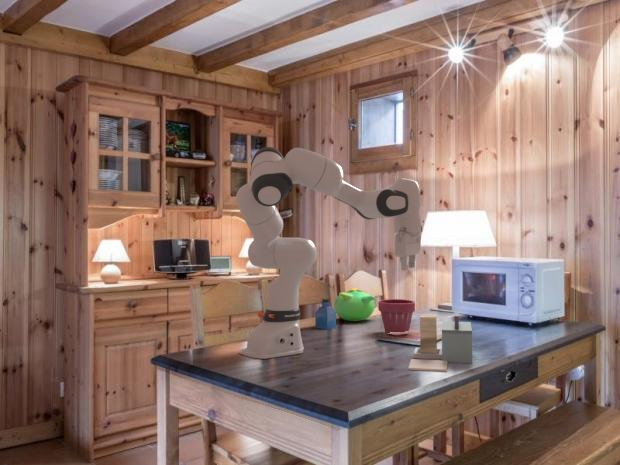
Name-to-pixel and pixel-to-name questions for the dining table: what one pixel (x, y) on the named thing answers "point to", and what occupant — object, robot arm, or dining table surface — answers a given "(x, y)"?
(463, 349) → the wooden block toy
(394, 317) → the plant pot
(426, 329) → the wooden block
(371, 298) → the green rounded piece
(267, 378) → the dining table surface
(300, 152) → the robot arm
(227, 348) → the dining table surface
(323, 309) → the perfume bottle
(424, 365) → the pad
